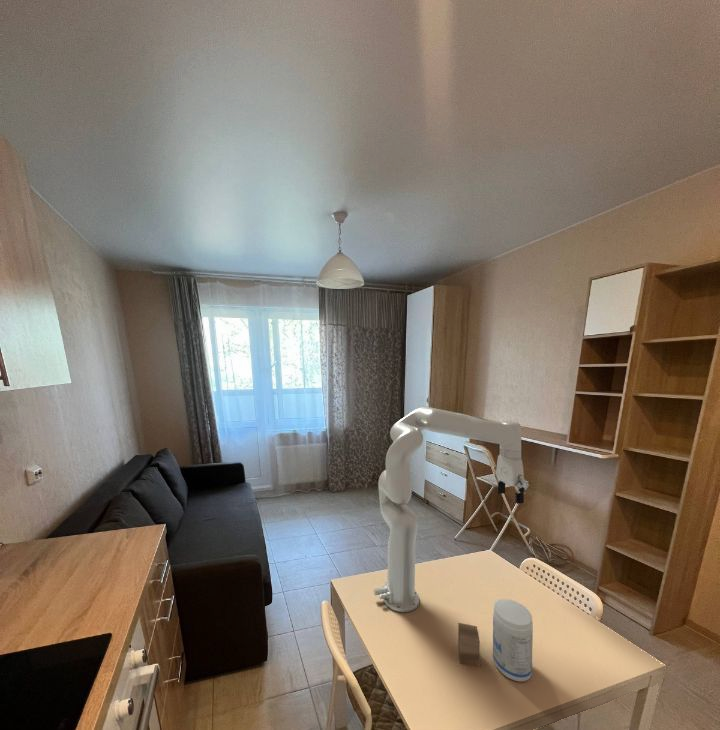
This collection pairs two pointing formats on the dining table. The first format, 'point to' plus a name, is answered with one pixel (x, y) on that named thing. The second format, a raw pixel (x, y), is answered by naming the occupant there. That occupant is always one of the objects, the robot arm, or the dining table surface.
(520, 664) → the supplement tub
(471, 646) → the walnut block
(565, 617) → the dining table surface
